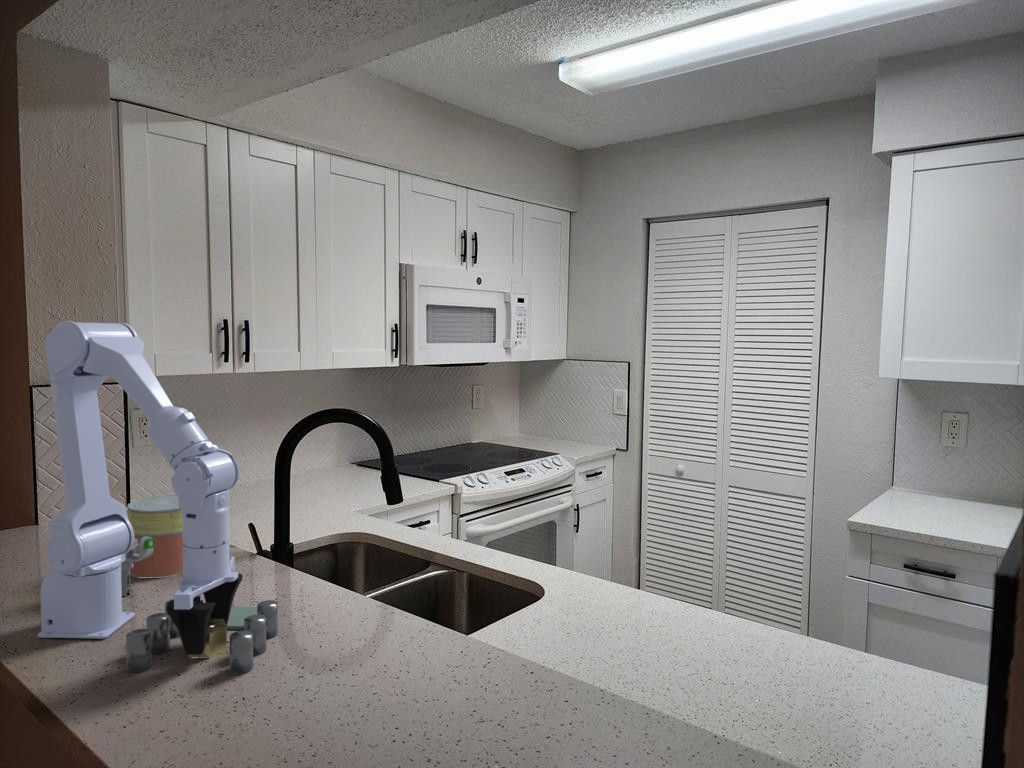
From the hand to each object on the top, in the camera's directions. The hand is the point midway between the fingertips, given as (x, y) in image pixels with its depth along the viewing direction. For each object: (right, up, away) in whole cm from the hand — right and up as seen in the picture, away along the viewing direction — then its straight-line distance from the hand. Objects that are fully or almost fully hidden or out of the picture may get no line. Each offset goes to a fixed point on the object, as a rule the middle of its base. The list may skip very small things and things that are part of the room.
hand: (206, 640), depth 92 cm
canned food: (-22, +1, +31) cm, 38 cm away
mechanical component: (-21, 0, +18) cm, 28 cm away
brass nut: (0, -2, 0) cm, 2 cm away
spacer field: (0, -1, 0) cm, 1 cm away
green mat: (0, -1, +10) cm, 10 cm away
